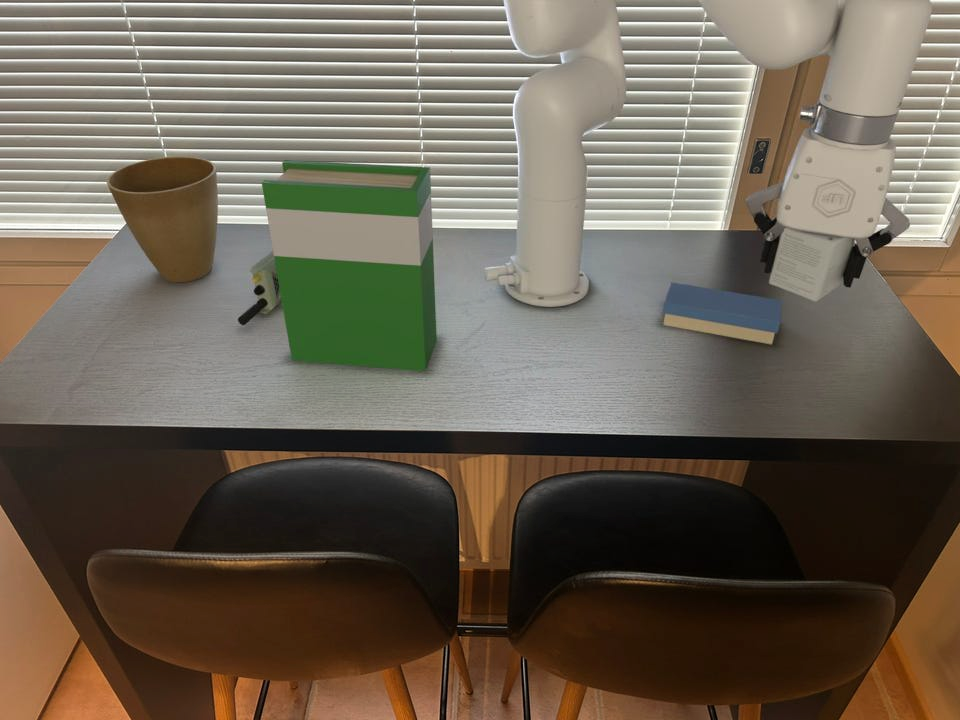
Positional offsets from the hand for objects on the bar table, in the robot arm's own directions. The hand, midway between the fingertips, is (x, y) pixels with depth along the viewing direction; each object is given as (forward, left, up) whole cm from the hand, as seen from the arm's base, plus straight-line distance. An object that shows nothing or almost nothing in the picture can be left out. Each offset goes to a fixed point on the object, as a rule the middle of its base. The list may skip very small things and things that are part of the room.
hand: (806, 274), depth 87 cm
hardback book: (-49, +21, -14) cm, 55 cm away
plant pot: (-72, +51, -14) cm, 89 cm away
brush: (-1, +13, -14) cm, 19 cm away
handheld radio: (-57, +41, -14) cm, 71 cm away
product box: (0, 0, -2) cm, 2 cm away
